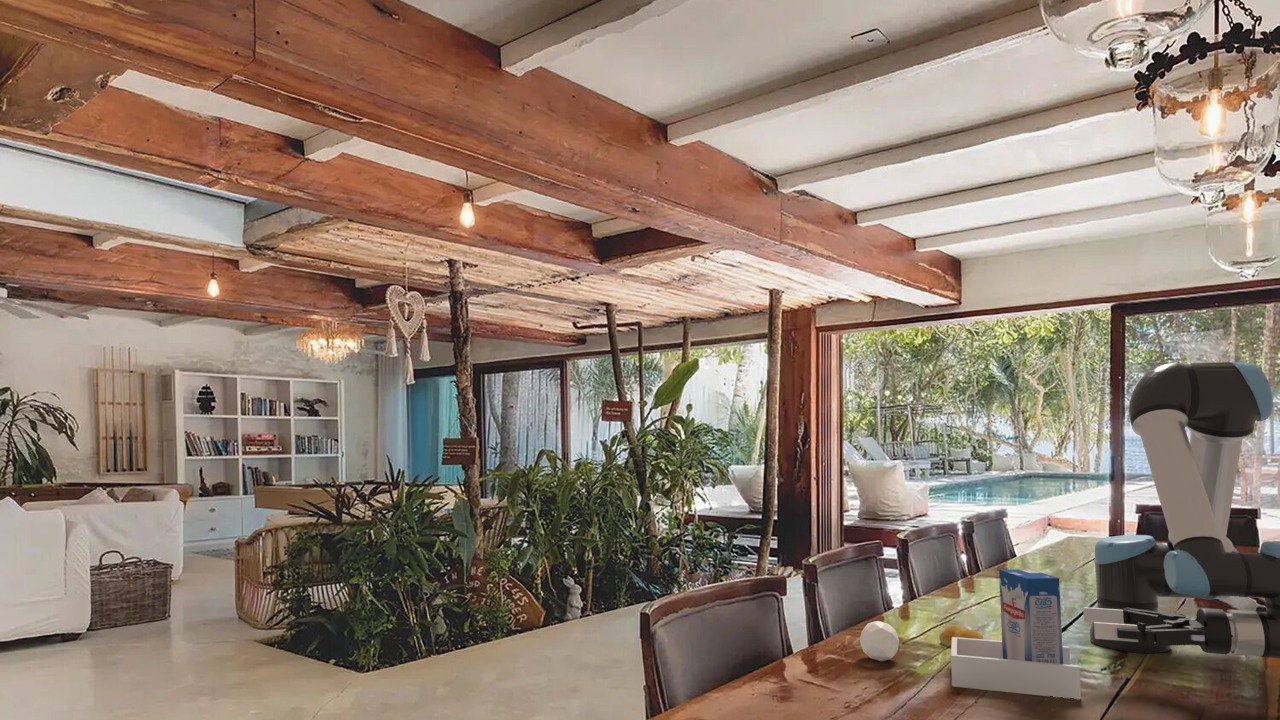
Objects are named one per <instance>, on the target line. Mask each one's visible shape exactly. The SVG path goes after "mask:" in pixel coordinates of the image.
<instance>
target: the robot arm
mask: <svg viewBox="0 0 1280 720" xmlns="http://www.w3.org/2000/svg"><path fill="white" fill-rule="evenodd" d="M1273 400H1274V399H1273V392H1272V389H1271V385H1270V383H1269V379H1268V377H1267V376H1266V374H1265V372H1264V371H1263V370H1262V369H1261V368H1260V367H1259V366H1258V365H1256V364H1255V363H1251V362H1238V361H1237V362H1236V361H1235V362H1234V361H1232V360H1229V361H1227V362H1225V361H1224V362H1223V361H1222V362H1220V361H1219V362H1185V363H1183V362H1182V363H1181V362H1172V363H1171V362H1170V363H1165V364H1162V365H1159V366H1157V367H1154V368H1153V369H1151V370H1149V371H1148V372H1147V373H1146V374H1145V375H1143V376H1142V377H1141V378H1140V380H1139V381H1138V382H1137V384H1136V386H1135V387H1134V389H1133V391H1132V393H1131V395H1130V399H1129V404H1128V416H1129V421H1130V424H1131V428H1132V431H1133V432H1134V434H1136V435H1137V436H1139V437H1140V439H1141V443H1142V445H1143V448H1144V452H1145V454H1146V460H1147V462H1148V465H1149V469H1150V473H1151V476H1152V480H1153V482H1154V486H1155V490H1156V493H1157V496H1158V499H1159V502H1160V503H1159V504H1160V505H1161V509H1162V513H1163V516H1164V520H1165V523H1166V527H1167V530H1168V536H1167V542H1156V540H1155V538H1154V537H1153V536H1152V535H1147V534H1127V535H1126V534H1124V535H1115V536H1108V537H1103V538H1102V539H1099V540H1098V541H1097V542H1096V543H1095V547H1094V560H1093V562H1094V567H1095V587H1096V600H1097V602H1096V604H1097V605H1096V607H1086V606H1083V622H1084V624H1085V623H1086V624H1088V623H1089V624H1091V625H1090V629H1089V640H1090V641H1091V643H1093V644H1096V645H1098V646H1100V647H1103V648H1108V649H1112V650H1118V651H1123V652H1124V651H1126V652H1131V653H1132V652H1134V653H1144V654H1145V653H1148V654H1149V653H1151V654H1153V653H1154V654H1155V653H1164V652H1168V651H1170V650H1171V646H1199V647H1200V649H1201V650H1202V651H1203V652H1204V653H1205V654H1206V653H1207V654H1215V655H1228V654H1230V653H1231V654H1232V655H1233V656H1244V657H1245V659H1246V660H1251V661H1252V660H1253V657H1254V656H1255V657H1258V658H1269V659H1278V660H1279V659H1280V540H1278V541H1277V540H1274V541H1272V540H1271V541H1270V540H1267V541H1263V542H1262V543H1261V544H1260V549H1259V552H1240V551H1238V549H1236V548H1235V547H1234V545H1233V542H1232V541H1231V540H1230V539H1229V537H1227V534H1228V533H1227V532H1228V527H1229V521H1230V514H1231V509H1232V503H1233V497H1234V493H1235V492H1234V491H1235V486H1236V480H1237V473H1238V469H1239V463H1240V462H1239V461H1240V456H1241V449H1242V445H1243V439H1246V438H1249V437H1250V436H1251V435H1253V433H1254V430H1255V424H1256V421H1257V422H1263V421H1266V420H1267V419H1269V418H1270V416H1271V414H1272V412H1273V408H1274V407H1273V402H1274V401H1273ZM1186 428H1187V429H1188V430H1189V431H1190V439H1189V437H1188V434H1187V431H1186V430H1187V429H1186ZM1231 597H1239V598H1255V599H1264V606H1265V608H1266V611H1255V610H1244V609H1227V610H1226V611H1225V610H1223V609H1222V608H1209V607H1208V608H1206V607H1205V608H1204V607H1201V608H1199V609H1198V610H1197V612H1196V618H1195V619H1190V618H1187V617H1186V614H1182V613H1179V614H1178V613H1177V614H1176V613H1168V612H1160V611H1159V598H1185V599H1186V598H1187V599H1202V600H1209V601H1210V600H1215V599H1216V600H1217V599H1218V600H1220V599H1223V600H1224V599H1225V600H1226V599H1229V598H1231Z"/></svg>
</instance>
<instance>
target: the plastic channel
mask: <svg viewBox="0 0 1280 720" xmlns="http://www.w3.org/2000/svg"><path fill="white" fill-rule="evenodd" d="M1062 649H1063V664H1054V663H1043V662H1032V661H1021V660H1010V659H1003V652H1002V640H995V639H984V638H983V639H972V638H960V637H952V645H951V647H950V650H951V651H950V662H951V663H950V664H951V665H950V667H951V687H954V688H955V687H956V688H966V689H974V690H983V691H984V690H985V691H994V692H1003V693H1004V692H1005V693H1013V694H1020V695H1021V694H1023V695H1033V696H1042V697H1050V696H1053V697H1052V698H1060V697H1063V698H1062V699H1070V698H1074V699H1073V700H1080V699H1081V700H1082V698H1081V697H1082V696H1081V675H1080V674H1081V673H1080V665H1078V664H1077V665H1075V664H1071V655H1070V654H1071V653H1070V650H1071V649H1070V646H1069V645H1068V646H1067V645H1062Z"/></svg>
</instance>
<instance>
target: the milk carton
mask: <svg viewBox="0 0 1280 720" xmlns="http://www.w3.org/2000/svg"><path fill="white" fill-rule="evenodd" d="M998 573H999V574H998V575H999V576H998V577H999V595H1000V596H999V597H1000V598H999V600H1000V602H999V603H1000V621H1001V623H1000V624H1001V641H1002V652H1003V659H1010V660H1021V661H1032V662H1043V663H1054V664H1063V649H1062V646H1063V632H1062V630H1063V629H1062V613H1061V610H1062V609H1061V591H1060V590H1061V589H1060V577H1057V576H1054V575H1050V574H1048V573H1044V572H1040V571H1037V570H1034V569H1031V568H1027V569H1025V568H1023V569H1022V568H1021V569H1020V568H1019V569H1016V568H1015V569H999V570H998Z"/></svg>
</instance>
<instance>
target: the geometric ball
mask: <svg viewBox="0 0 1280 720" xmlns="http://www.w3.org/2000/svg"><path fill="white" fill-rule="evenodd" d="M859 643H860V646H861V648H862V651H863V653H865V655H867V656H868V657H869V659H872V660H874V661H879V662H884V661H888V660H891V659H892V658H894V656H895V655H896V654H897V652H898V651H899V646H900V640H899V636H898V633H897V631H896V629H895V628H894V627H892V625H891V624H889V623H886V622H884V621H880V620H876V621H872V622H871V621H870V622H869V623H867V624H866V625H865V626H864V628H863V629H862V631H861V633H860V637H859Z"/></svg>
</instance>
